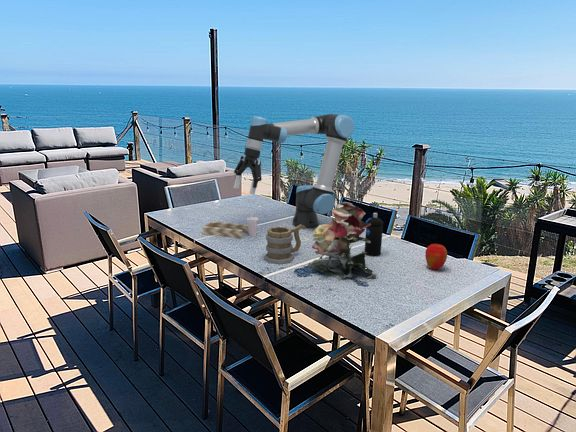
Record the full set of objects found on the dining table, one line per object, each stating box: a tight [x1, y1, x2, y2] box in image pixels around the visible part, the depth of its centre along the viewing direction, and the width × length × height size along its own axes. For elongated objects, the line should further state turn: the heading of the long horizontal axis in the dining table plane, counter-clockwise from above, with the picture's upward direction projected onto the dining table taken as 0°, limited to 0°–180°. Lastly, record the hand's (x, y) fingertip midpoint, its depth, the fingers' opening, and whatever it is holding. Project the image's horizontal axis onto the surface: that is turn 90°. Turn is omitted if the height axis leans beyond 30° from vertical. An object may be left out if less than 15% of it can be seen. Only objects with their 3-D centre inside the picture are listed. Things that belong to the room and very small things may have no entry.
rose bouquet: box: [310, 201, 377, 281], centre depth 187 cm, size 26×29×30 cm
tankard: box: [263, 224, 306, 265], centre depth 201 cm, size 20×13×15 cm, turn 117°
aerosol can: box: [363, 212, 384, 257], centre depth 208 cm, size 8×8×20 cm
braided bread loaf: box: [202, 220, 249, 239], centre depth 237 cm, size 22×12×4 cm, turn 75°
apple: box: [425, 243, 448, 271], centre depth 191 cm, size 9×9×12 cm
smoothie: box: [246, 209, 259, 238], centre depth 232 cm, size 6×6×14 cm
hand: (243, 191), depth 216 cm, fingers open, 13 cm apart
